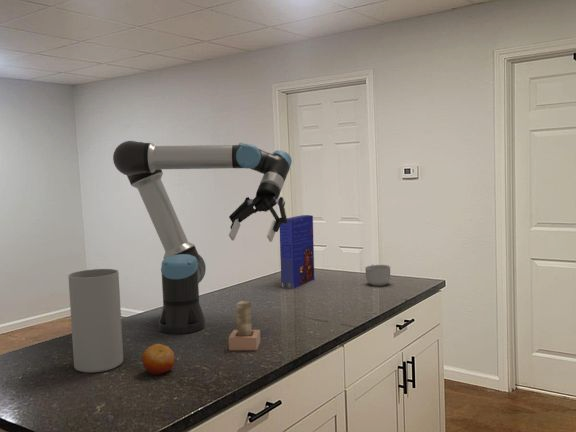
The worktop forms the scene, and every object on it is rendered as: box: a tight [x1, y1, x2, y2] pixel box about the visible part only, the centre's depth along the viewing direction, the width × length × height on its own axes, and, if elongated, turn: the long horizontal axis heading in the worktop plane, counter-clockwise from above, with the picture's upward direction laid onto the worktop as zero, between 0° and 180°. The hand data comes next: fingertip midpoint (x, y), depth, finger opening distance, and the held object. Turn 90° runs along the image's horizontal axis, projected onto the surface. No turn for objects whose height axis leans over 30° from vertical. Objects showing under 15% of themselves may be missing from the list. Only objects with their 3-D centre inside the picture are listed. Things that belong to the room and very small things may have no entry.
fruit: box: [141, 343, 175, 376], centre depth 140 cm, size 8×8×8 cm
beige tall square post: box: [236, 300, 253, 336], centre depth 159 cm, size 3×3×12 cm
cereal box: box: [279, 214, 315, 290], centre depth 245 cm, size 22×6×30 cm, turn 153°
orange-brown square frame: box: [228, 329, 261, 351], centre depth 159 cm, size 8×8×4 cm
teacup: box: [364, 264, 391, 287], centre depth 240 cm, size 14×11×8 cm
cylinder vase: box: [68, 268, 124, 374], centre depth 145 cm, size 12×12×25 cm
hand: (249, 238), depth 171 cm, fingers open, 13 cm apart
